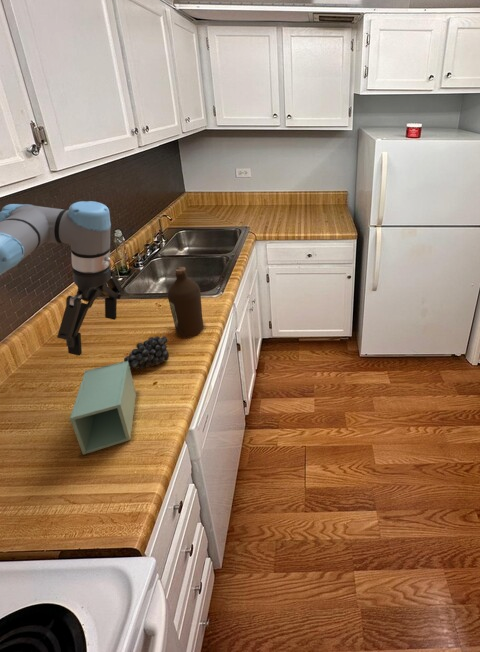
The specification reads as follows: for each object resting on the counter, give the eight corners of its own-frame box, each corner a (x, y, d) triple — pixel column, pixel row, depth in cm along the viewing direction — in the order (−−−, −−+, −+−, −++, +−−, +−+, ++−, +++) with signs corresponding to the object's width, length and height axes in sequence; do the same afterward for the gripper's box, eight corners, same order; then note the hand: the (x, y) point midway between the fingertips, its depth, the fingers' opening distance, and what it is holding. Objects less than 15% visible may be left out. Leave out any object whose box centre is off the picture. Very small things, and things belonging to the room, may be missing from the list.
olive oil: (202, 317, 128) (194, 259, 119) (207, 333, 119) (199, 272, 110) (173, 325, 123) (162, 265, 114) (175, 342, 115) (164, 279, 105)
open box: (130, 440, 82) (120, 404, 77) (82, 455, 78) (69, 418, 74) (136, 393, 95) (128, 360, 90) (95, 404, 91) (85, 370, 87)
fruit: (113, 354, 96) (168, 336, 103) (115, 345, 104) (166, 329, 111) (120, 381, 97) (174, 362, 104) (121, 370, 105) (172, 353, 112)
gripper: (67, 300, 67) (73, 375, 75) (137, 246, 90) (135, 308, 98) (30, 291, 67) (40, 367, 75) (110, 239, 89) (110, 302, 98)
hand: (94, 334), depth 86 cm, fingers open, 13 cm apart
